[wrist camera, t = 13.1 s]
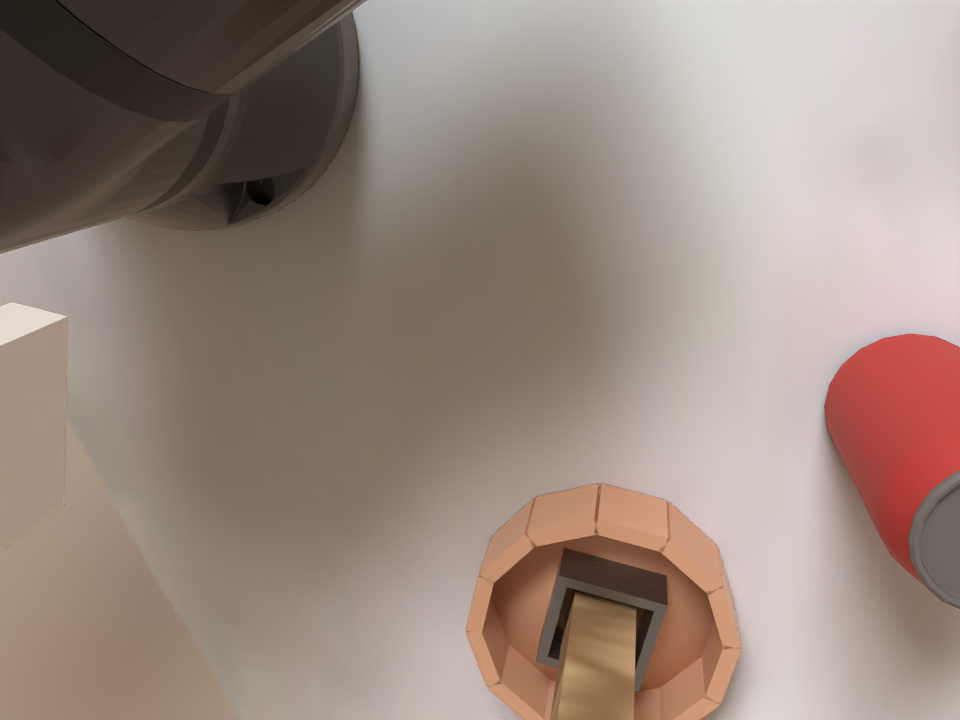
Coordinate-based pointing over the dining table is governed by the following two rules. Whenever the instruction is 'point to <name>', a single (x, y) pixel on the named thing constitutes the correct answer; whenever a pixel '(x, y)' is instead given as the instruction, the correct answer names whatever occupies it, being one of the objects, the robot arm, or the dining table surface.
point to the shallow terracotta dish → (686, 624)
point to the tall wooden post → (596, 660)
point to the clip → (610, 584)
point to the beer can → (905, 450)
